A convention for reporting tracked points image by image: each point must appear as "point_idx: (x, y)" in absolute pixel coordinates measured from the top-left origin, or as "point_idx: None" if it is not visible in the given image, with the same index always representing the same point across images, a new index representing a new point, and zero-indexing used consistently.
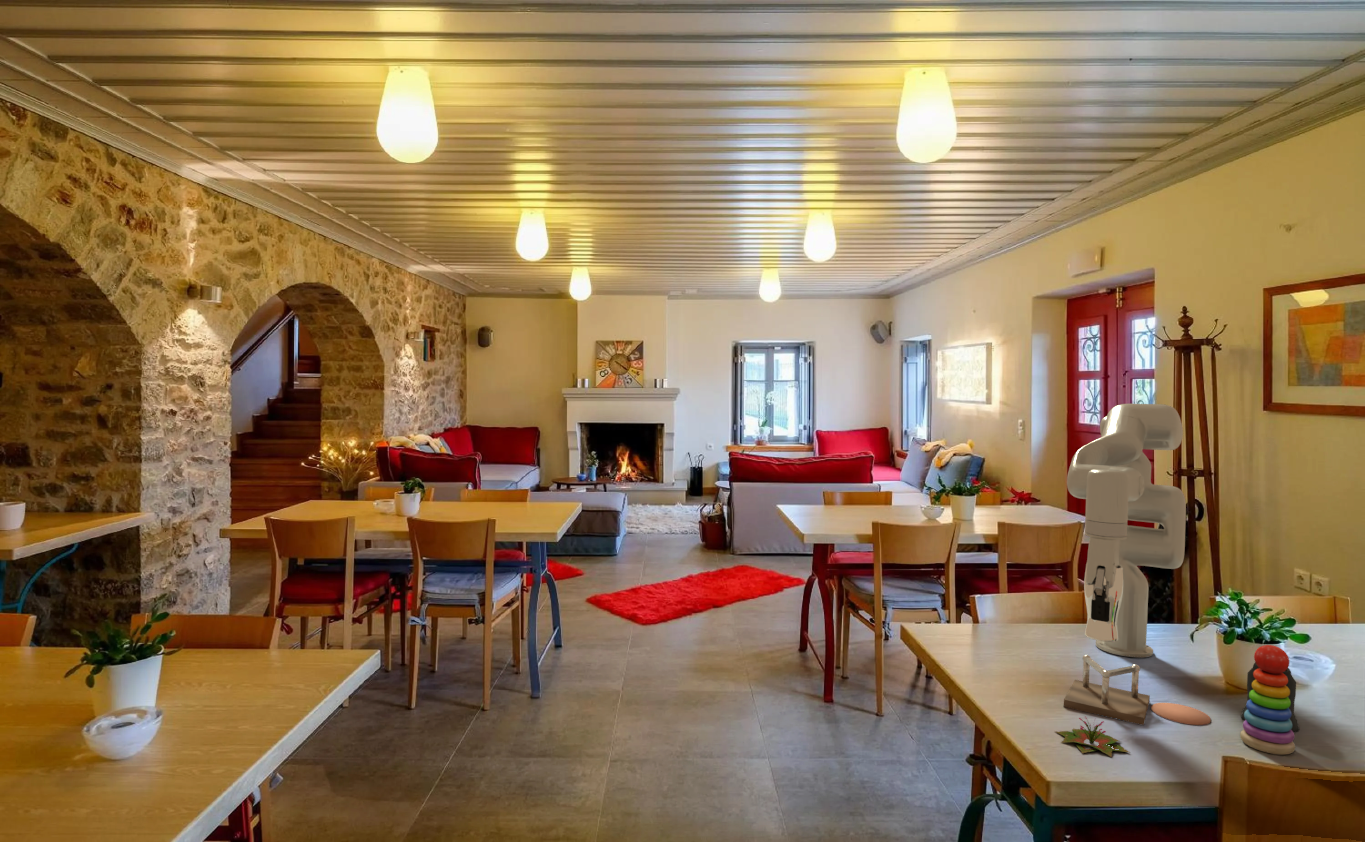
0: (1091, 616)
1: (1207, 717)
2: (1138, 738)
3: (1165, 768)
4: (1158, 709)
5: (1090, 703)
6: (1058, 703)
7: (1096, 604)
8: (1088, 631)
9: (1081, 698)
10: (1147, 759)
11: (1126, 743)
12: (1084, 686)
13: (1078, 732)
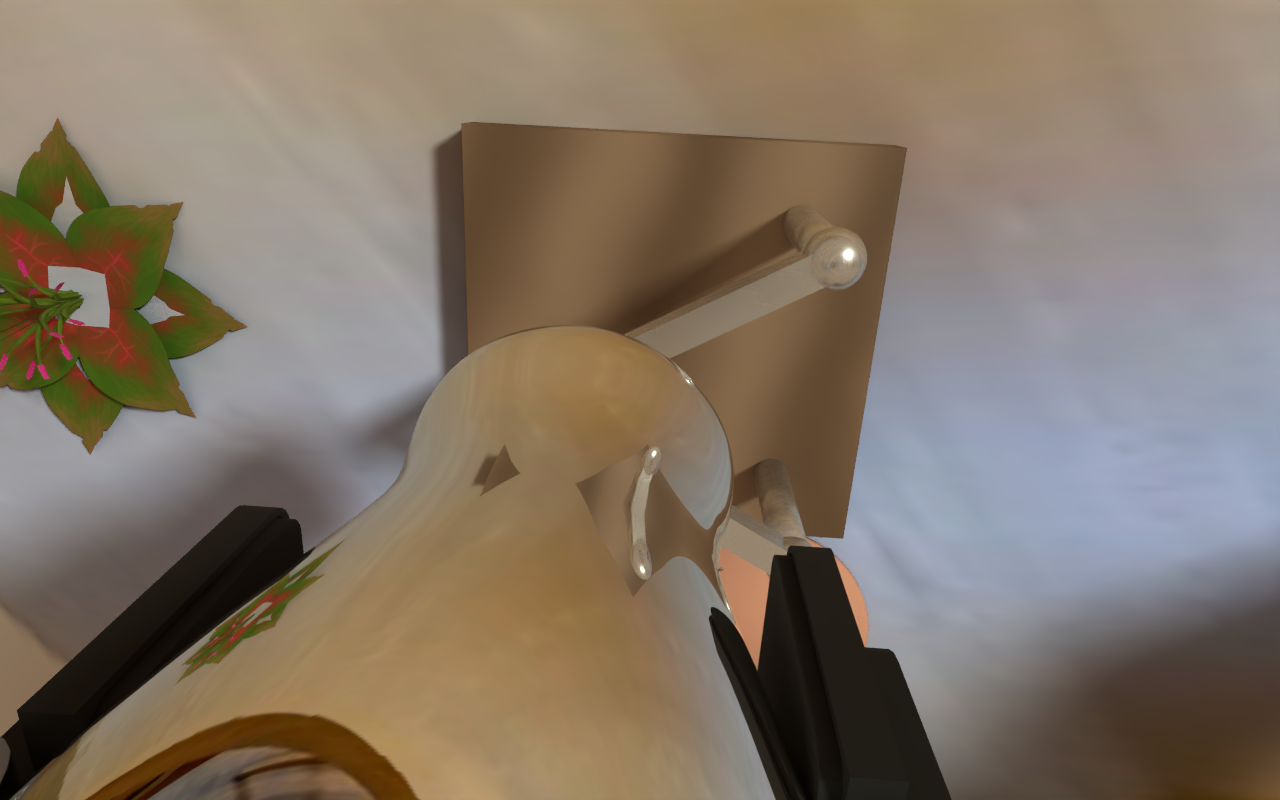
0: (230, 522)
1: None
2: (301, 475)
3: (65, 560)
4: (733, 555)
5: (499, 272)
6: (512, 86)
7: (22, 735)
8: (451, 386)
9: (551, 218)
10: (96, 506)
11: (200, 433)
12: (785, 218)
13: (117, 236)
